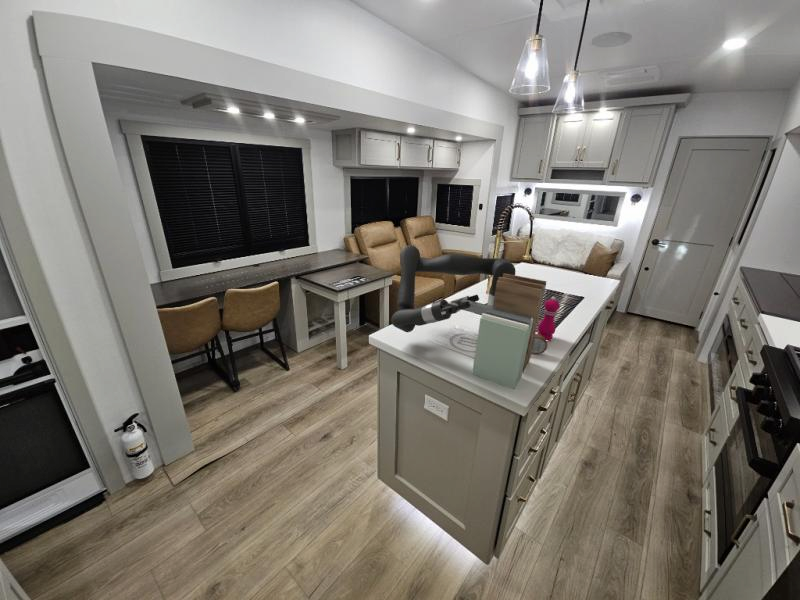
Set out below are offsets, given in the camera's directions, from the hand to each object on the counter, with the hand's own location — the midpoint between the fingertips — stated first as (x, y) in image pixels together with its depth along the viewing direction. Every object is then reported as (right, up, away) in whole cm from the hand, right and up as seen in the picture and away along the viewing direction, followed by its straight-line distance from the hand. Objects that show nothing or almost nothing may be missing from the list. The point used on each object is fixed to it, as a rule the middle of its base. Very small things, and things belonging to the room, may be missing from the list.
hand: (474, 300), depth 111 cm
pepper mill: (+40, -17, +34) cm, 55 cm away
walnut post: (+16, -24, +13) cm, 31 cm away
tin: (+26, -22, +21) cm, 40 cm away
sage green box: (+9, -27, +3) cm, 29 cm away
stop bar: (+6, -5, -2) cm, 8 cm away
